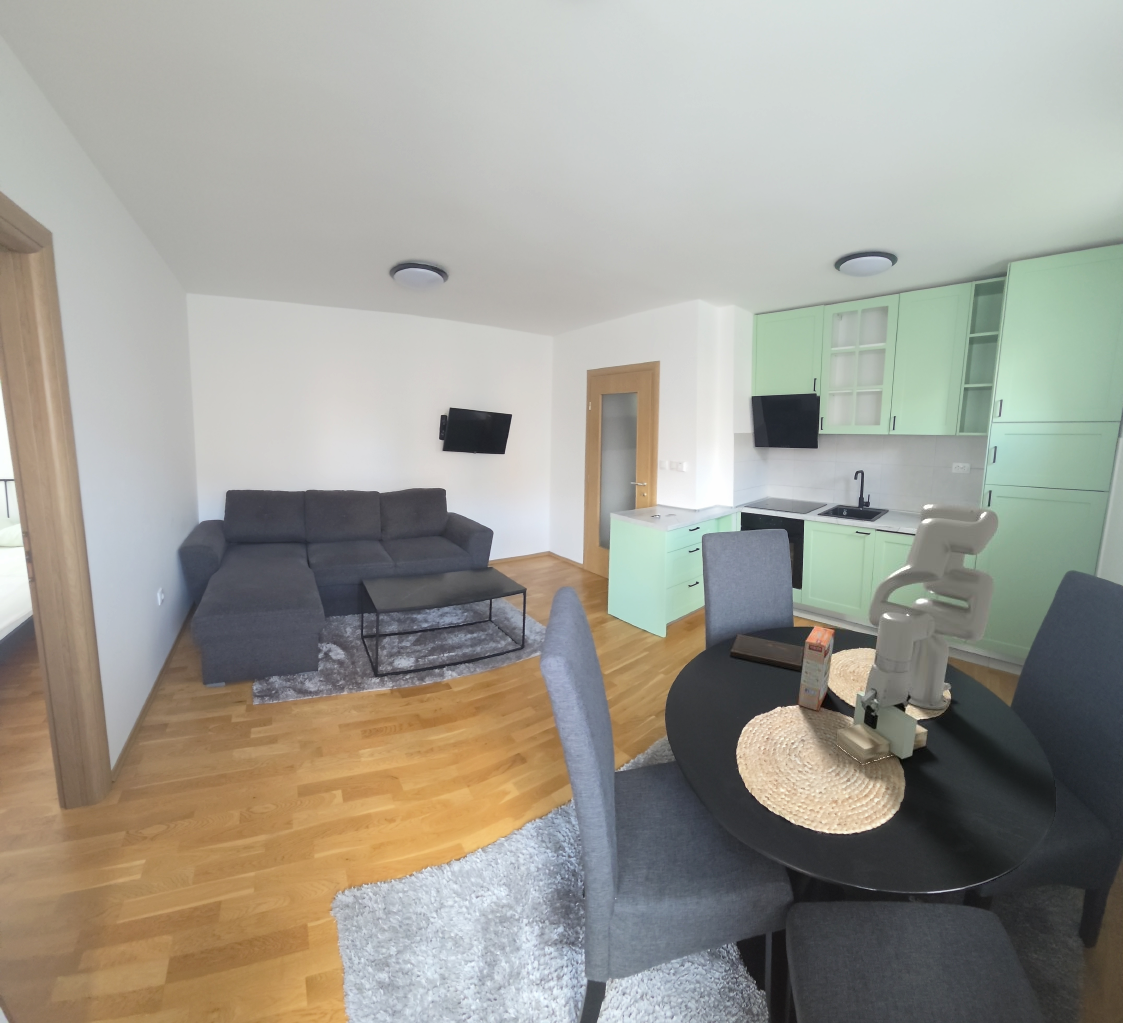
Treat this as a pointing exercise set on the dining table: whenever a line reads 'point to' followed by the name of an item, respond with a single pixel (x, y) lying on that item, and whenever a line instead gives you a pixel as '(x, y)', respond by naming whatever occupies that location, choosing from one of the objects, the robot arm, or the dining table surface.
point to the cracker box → (816, 667)
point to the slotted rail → (871, 742)
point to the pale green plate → (890, 727)
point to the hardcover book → (768, 652)
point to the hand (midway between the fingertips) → (883, 722)
